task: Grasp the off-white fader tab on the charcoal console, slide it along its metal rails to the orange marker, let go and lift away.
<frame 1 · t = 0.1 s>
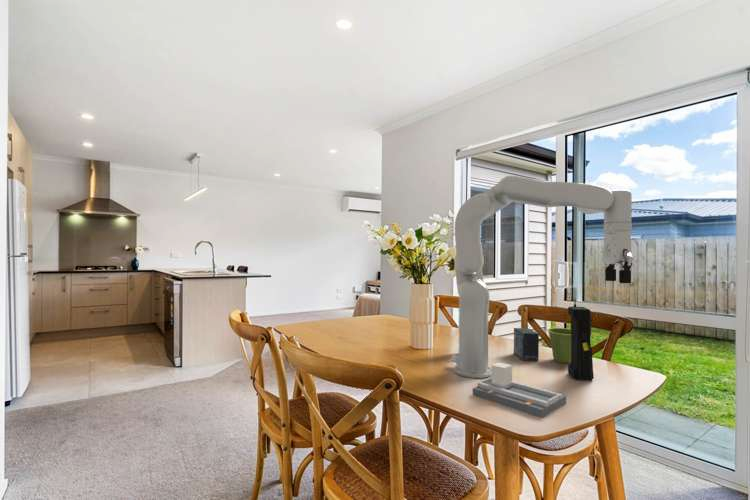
hand: (617, 282, 125), 31 cm above the table, tool pointing down, fingers open, 9 cm apart
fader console: (518, 399, 108), on the table
small box: (525, 358, 152), on the table
plant pot: (564, 361, 147), on the table
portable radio: (581, 378, 127), on the table
fader tab: (501, 375, 112), point 5 cm above the table, slide at 0.0 cm
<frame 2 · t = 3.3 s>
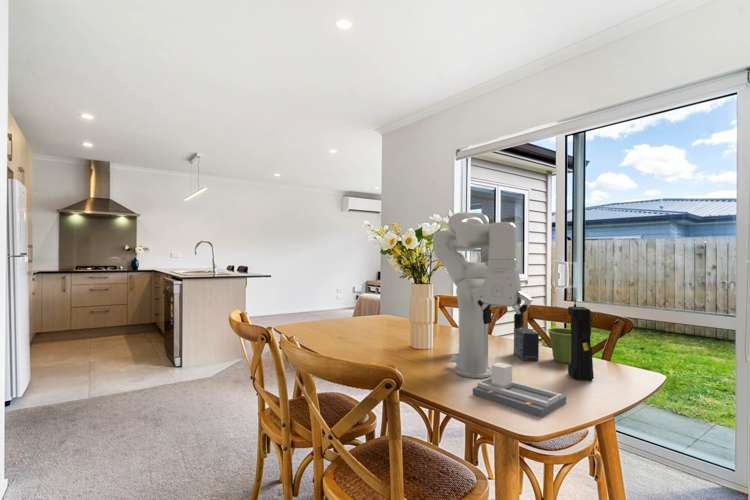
hand: (502, 325, 112), 20 cm above the table, tool pointing down, fingers open, 9 cm apart
nothing on the table moved.
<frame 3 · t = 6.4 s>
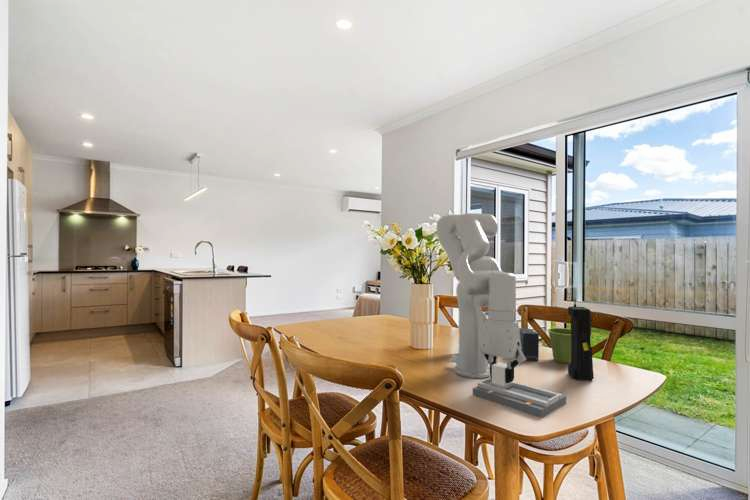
hand: (501, 379, 112), 4 cm above the table, tool pointing down, fingers closed on fader tab, 4 cm apart
fader tab: (501, 375, 112), point 5 cm above the table, slide at 0.0 cm, touching gripper
everything else where it was.
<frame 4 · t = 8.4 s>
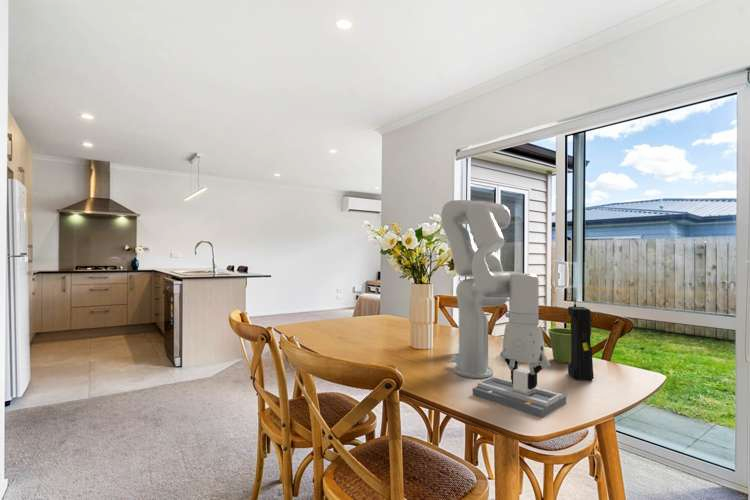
hand: (523, 385, 107), 4 cm above the table, tool pointing down, fingers closed on fader tab, 4 cm apart
fader tab: (523, 381, 107), point 5 cm above the table, slide at 6.6 cm, touching gripper
everything else where it was.
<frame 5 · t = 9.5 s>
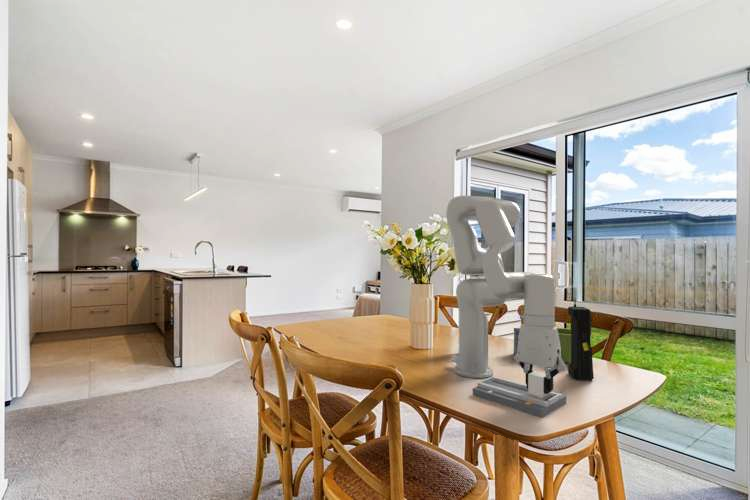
hand: (539, 389, 104), 4 cm above the table, tool pointing down, fingers closed on fader tab, 4 cm apart
fader tab: (539, 385, 104), point 5 cm above the table, slide at 10.9 cm, touching gripper
everything else where it was.
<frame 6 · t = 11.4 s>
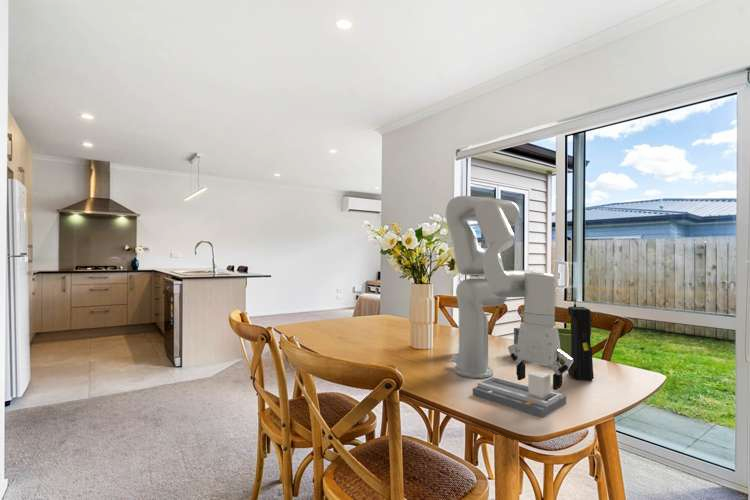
hand: (538, 383, 104), 6 cm above the table, tool pointing down, fingers open, 9 cm apart
fader tab: (539, 385, 104), point 5 cm above the table, slide at 11.0 cm
everything else where it was.
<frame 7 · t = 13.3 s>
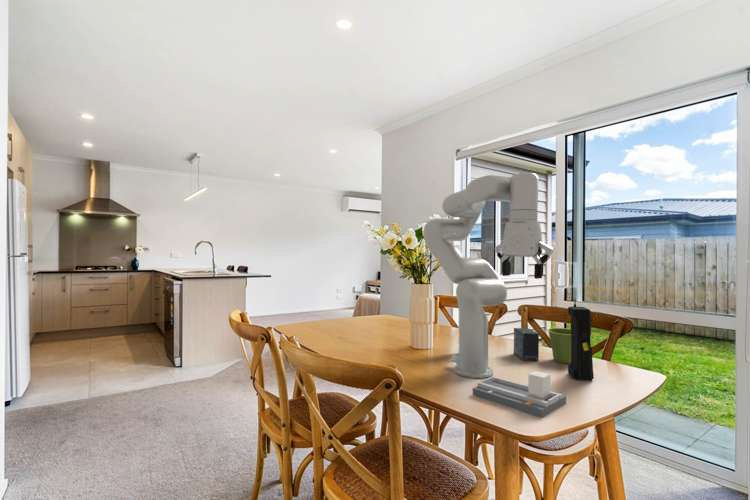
hand: (521, 276, 112), 34 cm above the table, tool pointing down, fingers open, 9 cm apart
nothing on the table moved.
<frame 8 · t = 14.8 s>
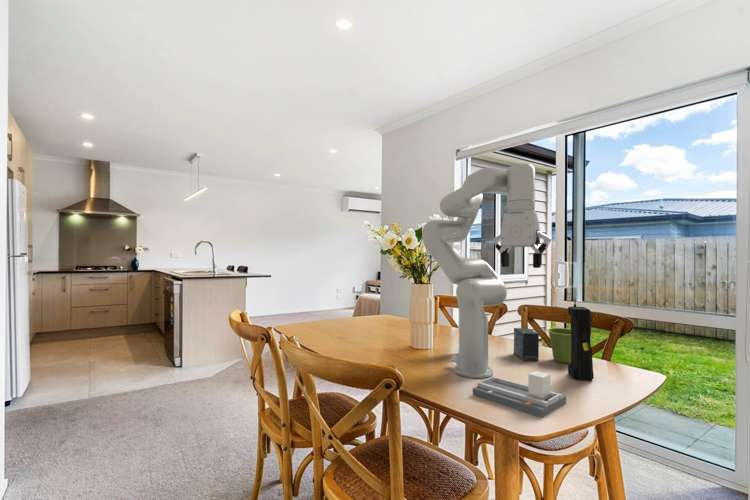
hand: (520, 267, 113), 36 cm above the table, tool pointing down, fingers open, 9 cm apart
nothing on the table moved.
at the end: fader tab slide at 11.0 cm; the gripper is holding nothing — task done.
